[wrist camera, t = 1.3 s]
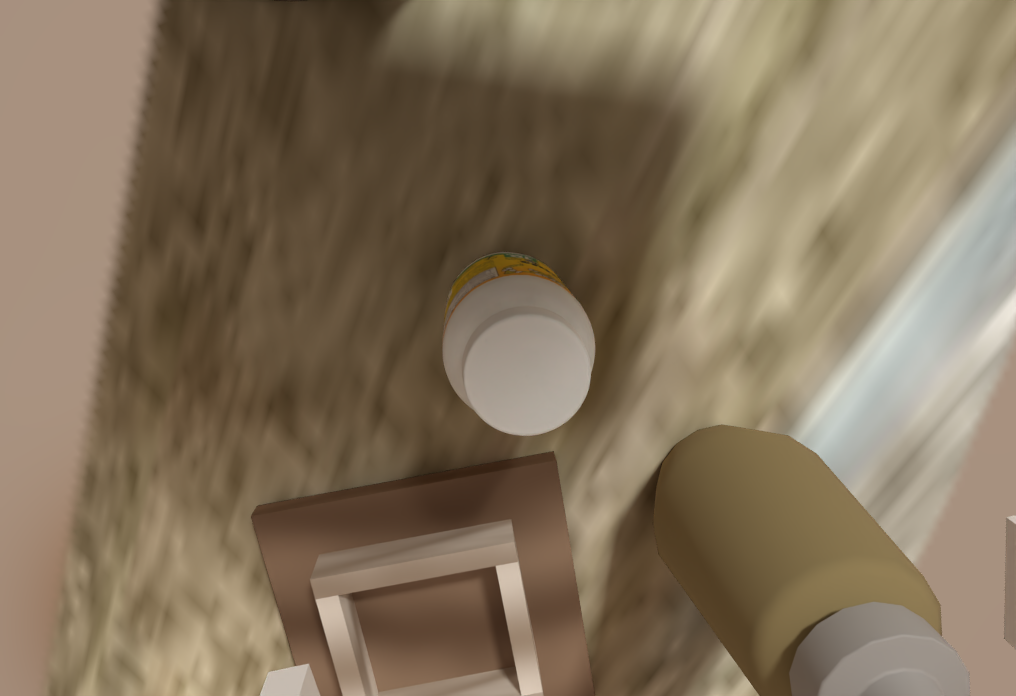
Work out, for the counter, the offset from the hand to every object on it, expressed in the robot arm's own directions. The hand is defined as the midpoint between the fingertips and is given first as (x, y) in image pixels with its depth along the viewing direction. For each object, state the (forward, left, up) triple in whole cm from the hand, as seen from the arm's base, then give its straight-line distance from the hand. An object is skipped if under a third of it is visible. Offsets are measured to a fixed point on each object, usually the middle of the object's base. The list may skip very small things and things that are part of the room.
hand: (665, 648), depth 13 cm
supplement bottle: (-3, -1, -19) cm, 19 cm away
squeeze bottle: (+7, +7, -19) cm, 22 cm away
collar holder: (+11, -7, -19) cm, 23 cm away
